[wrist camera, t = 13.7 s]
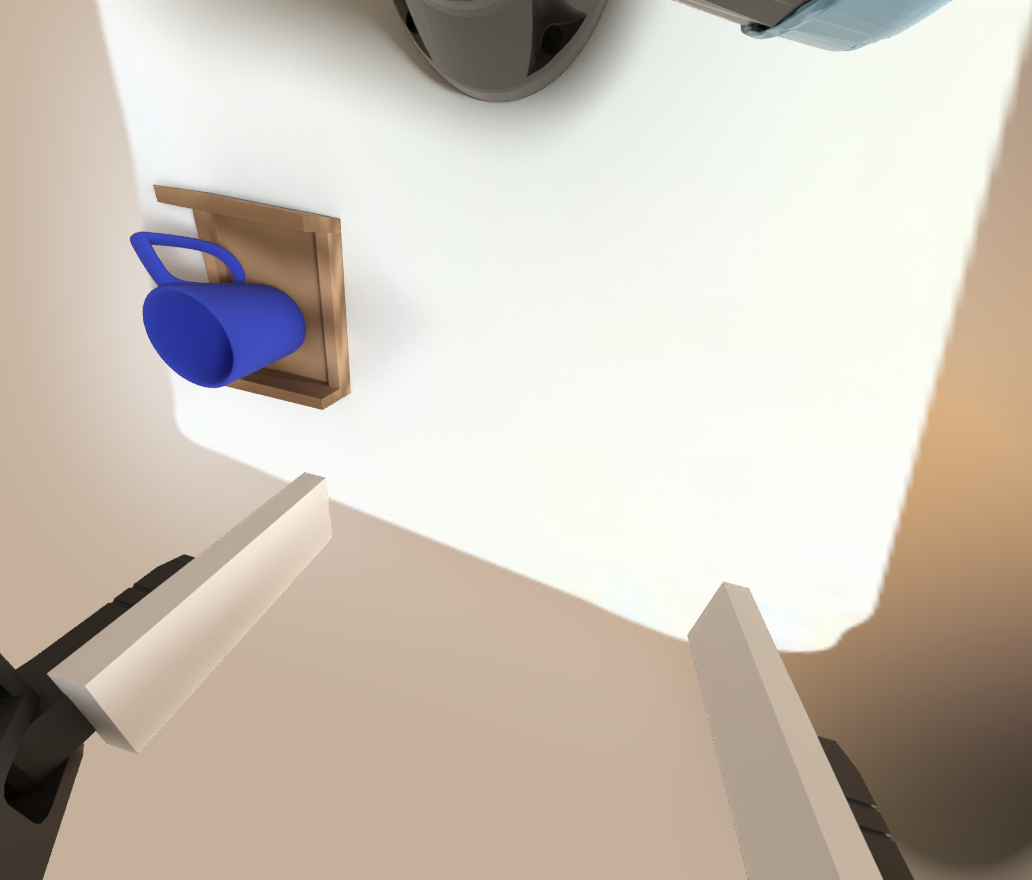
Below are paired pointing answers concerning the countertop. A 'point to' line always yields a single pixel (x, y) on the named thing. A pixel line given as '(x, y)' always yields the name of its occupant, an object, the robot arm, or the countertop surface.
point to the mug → (215, 318)
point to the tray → (282, 286)
